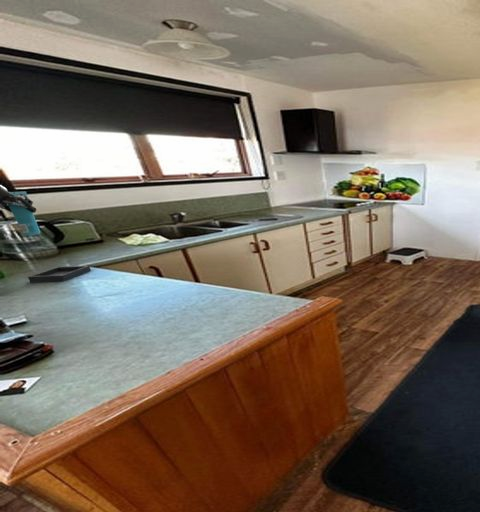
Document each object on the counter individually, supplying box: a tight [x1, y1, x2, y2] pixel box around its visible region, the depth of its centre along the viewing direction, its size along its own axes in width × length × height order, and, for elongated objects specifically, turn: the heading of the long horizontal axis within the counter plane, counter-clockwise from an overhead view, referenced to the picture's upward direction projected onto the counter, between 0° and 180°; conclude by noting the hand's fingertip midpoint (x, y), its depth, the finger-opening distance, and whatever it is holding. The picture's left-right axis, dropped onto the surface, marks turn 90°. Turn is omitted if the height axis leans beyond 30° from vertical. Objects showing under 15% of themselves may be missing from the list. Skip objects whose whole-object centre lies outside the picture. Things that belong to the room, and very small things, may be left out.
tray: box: [27, 265, 92, 283], centre depth 128 cm, size 15×13×3 cm
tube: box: [7, 190, 41, 236], centre depth 121 cm, size 7×5×19 cm, turn 123°
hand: (25, 211), depth 122 cm, fingers closed on tube, 6 cm apart
